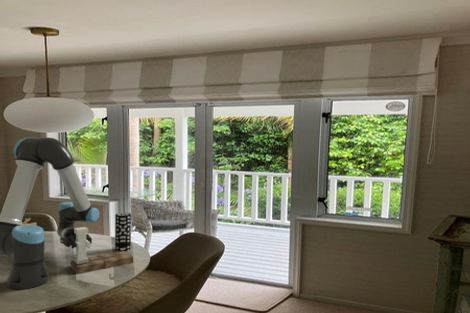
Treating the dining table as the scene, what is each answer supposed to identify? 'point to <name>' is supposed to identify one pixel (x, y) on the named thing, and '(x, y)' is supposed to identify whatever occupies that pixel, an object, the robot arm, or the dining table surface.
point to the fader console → (102, 262)
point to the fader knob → (81, 245)
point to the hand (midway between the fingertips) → (84, 246)
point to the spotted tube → (122, 232)
